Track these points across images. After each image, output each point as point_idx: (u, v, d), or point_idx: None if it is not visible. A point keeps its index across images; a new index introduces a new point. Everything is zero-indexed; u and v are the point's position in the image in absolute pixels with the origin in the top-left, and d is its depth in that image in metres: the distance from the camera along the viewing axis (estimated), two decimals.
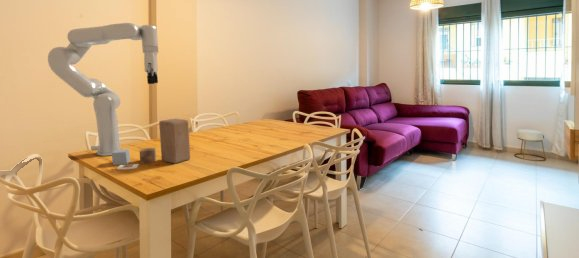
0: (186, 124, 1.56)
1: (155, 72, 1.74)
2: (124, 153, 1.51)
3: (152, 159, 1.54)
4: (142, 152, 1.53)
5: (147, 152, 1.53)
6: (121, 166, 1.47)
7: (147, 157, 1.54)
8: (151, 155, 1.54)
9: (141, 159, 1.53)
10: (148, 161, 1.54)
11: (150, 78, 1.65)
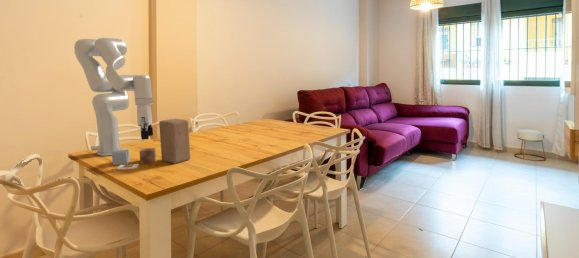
0: (186, 124, 1.56)
1: (150, 124, 1.57)
2: (124, 153, 1.51)
3: (152, 159, 1.54)
4: (142, 152, 1.53)
5: (147, 152, 1.53)
6: (121, 166, 1.47)
7: (147, 157, 1.54)
8: (151, 155, 1.54)
9: (141, 159, 1.53)
10: (148, 161, 1.54)
11: (144, 133, 1.48)
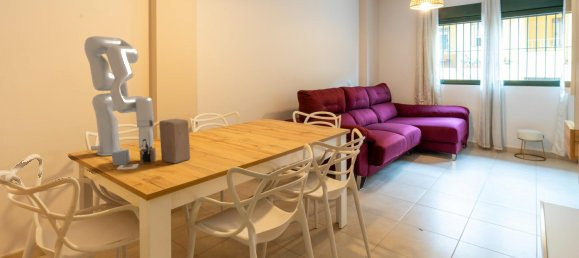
0: (186, 124, 1.56)
1: (150, 146, 1.59)
2: (124, 153, 1.51)
3: (152, 159, 1.54)
4: (142, 152, 1.53)
5: None
6: (121, 166, 1.47)
7: None
8: (151, 155, 1.54)
9: (141, 159, 1.53)
10: None
11: (146, 156, 1.52)
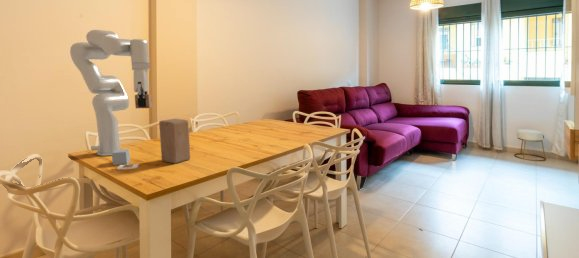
0: (186, 124, 1.56)
1: (146, 92, 1.54)
2: (124, 153, 1.51)
3: (148, 104, 1.50)
4: (137, 96, 1.48)
5: None
6: (121, 166, 1.47)
7: None
8: (147, 100, 1.49)
9: (136, 103, 1.48)
10: None
11: (141, 101, 1.47)
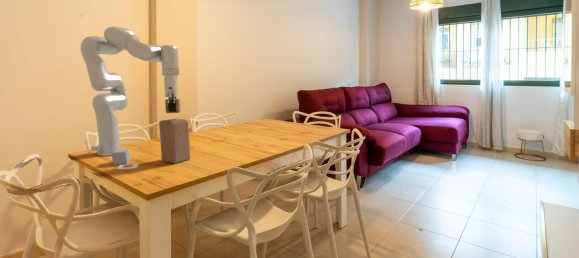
0: (186, 124, 1.56)
1: (175, 97, 1.56)
2: (124, 153, 1.51)
3: (178, 109, 1.52)
4: None
5: None
6: (121, 166, 1.47)
7: None
8: (177, 104, 1.51)
9: (167, 108, 1.51)
10: None
11: (171, 106, 1.50)
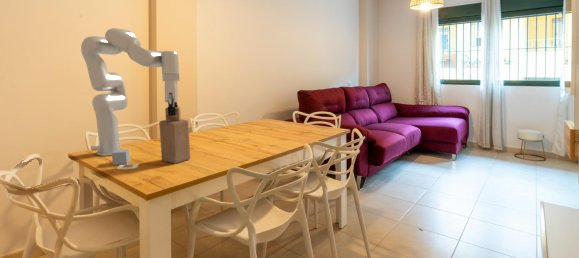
0: (186, 124, 1.56)
1: (175, 101, 1.57)
2: (124, 153, 1.51)
3: (178, 117, 1.52)
4: None
5: None
6: (121, 166, 1.47)
7: None
8: (177, 113, 1.52)
9: (167, 117, 1.51)
10: (174, 119, 1.52)
11: (171, 109, 1.49)
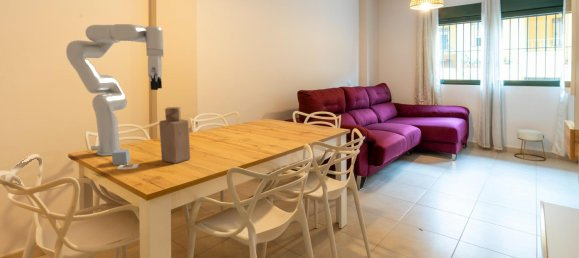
0: (186, 124, 1.56)
1: (159, 77, 1.61)
2: (124, 153, 1.51)
3: (177, 117, 1.52)
4: (168, 110, 1.51)
5: (173, 110, 1.51)
6: (121, 166, 1.47)
7: (172, 115, 1.52)
8: (177, 113, 1.52)
9: (166, 117, 1.51)
10: (173, 119, 1.52)
11: (153, 84, 1.52)
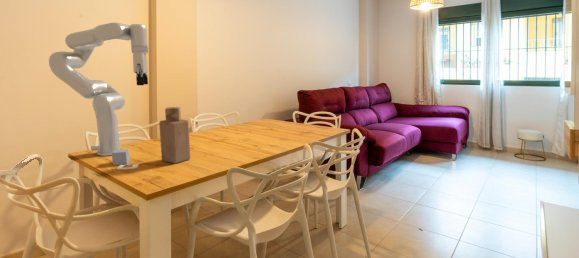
0: (186, 124, 1.56)
1: (145, 73, 1.67)
2: (124, 153, 1.51)
3: (177, 117, 1.52)
4: (168, 110, 1.51)
5: (173, 110, 1.51)
6: (121, 166, 1.47)
7: (172, 115, 1.52)
8: (177, 113, 1.52)
9: (166, 117, 1.51)
10: (173, 119, 1.52)
11: (139, 79, 1.58)
